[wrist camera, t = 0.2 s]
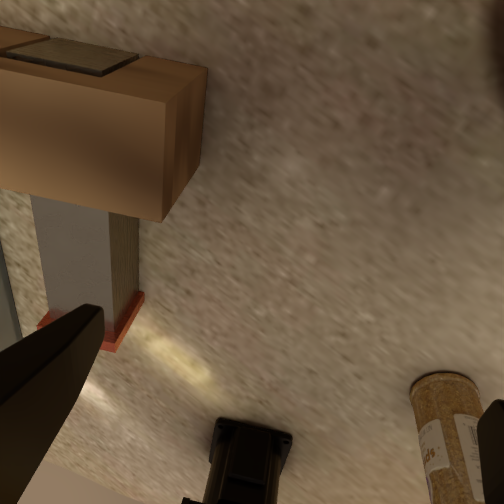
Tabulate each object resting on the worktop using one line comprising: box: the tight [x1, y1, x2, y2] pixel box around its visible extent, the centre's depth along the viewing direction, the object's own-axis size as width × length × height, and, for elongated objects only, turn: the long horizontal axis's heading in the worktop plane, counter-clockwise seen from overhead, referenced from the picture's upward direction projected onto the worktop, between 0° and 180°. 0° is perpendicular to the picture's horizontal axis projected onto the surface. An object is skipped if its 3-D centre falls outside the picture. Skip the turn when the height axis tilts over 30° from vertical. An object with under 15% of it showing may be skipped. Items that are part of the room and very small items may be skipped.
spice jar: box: [410, 373, 485, 504], centre depth 24 cm, size 5×5×14 cm
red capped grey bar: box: [6, 38, 144, 353], centre depth 23 cm, size 16×5×5 cm, turn 171°
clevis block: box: [0, 26, 208, 223], centre depth 19 cm, size 5×11×6 cm, turn 81°
